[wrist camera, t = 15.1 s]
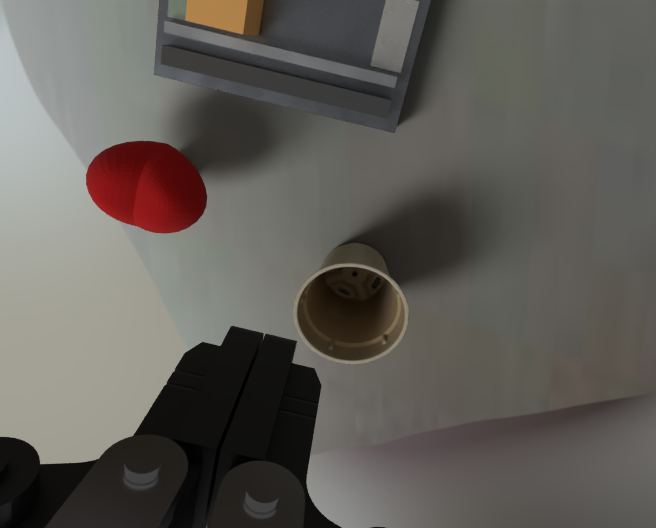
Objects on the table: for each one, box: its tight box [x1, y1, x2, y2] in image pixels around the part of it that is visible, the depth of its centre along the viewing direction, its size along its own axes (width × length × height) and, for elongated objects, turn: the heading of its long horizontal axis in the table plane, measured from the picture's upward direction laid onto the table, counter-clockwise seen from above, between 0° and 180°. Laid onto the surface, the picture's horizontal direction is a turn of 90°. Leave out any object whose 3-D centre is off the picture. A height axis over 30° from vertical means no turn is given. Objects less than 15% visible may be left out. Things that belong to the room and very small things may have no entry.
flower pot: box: [293, 243, 409, 364], centre depth 45 cm, size 9×9×9 cm
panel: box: [154, 0, 431, 133], centre depth 38 cm, size 20×14×4 cm
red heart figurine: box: [86, 141, 207, 233], centre depth 42 cm, size 9×7×10 cm
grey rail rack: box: [161, 45, 391, 119], centre depth 37 cm, size 18×12×1 cm, turn 78°
